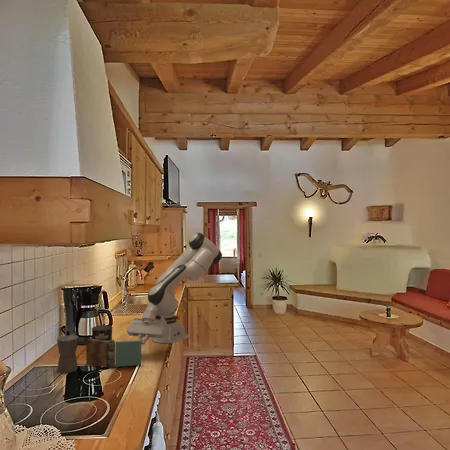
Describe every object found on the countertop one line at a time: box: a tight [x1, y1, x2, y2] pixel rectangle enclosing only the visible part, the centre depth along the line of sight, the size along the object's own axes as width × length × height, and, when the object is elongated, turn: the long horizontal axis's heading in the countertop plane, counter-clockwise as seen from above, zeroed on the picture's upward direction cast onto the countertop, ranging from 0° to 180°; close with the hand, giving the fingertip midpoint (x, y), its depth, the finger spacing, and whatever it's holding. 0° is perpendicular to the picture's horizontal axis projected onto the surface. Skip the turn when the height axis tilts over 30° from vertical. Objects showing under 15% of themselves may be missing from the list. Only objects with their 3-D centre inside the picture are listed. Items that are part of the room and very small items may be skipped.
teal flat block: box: [108, 339, 142, 368], centre depth 174 cm, size 15×3×12 cm, turn 103°
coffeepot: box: [56, 330, 80, 375], centre depth 170 cm, size 15×9×18 cm, turn 171°
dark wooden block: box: [85, 338, 116, 369], centre depth 175 cm, size 15×3×13 cm, turn 73°
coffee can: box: [91, 324, 113, 341], centre depth 190 cm, size 10×10×14 cm
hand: (141, 343), depth 180 cm, fingers closed
